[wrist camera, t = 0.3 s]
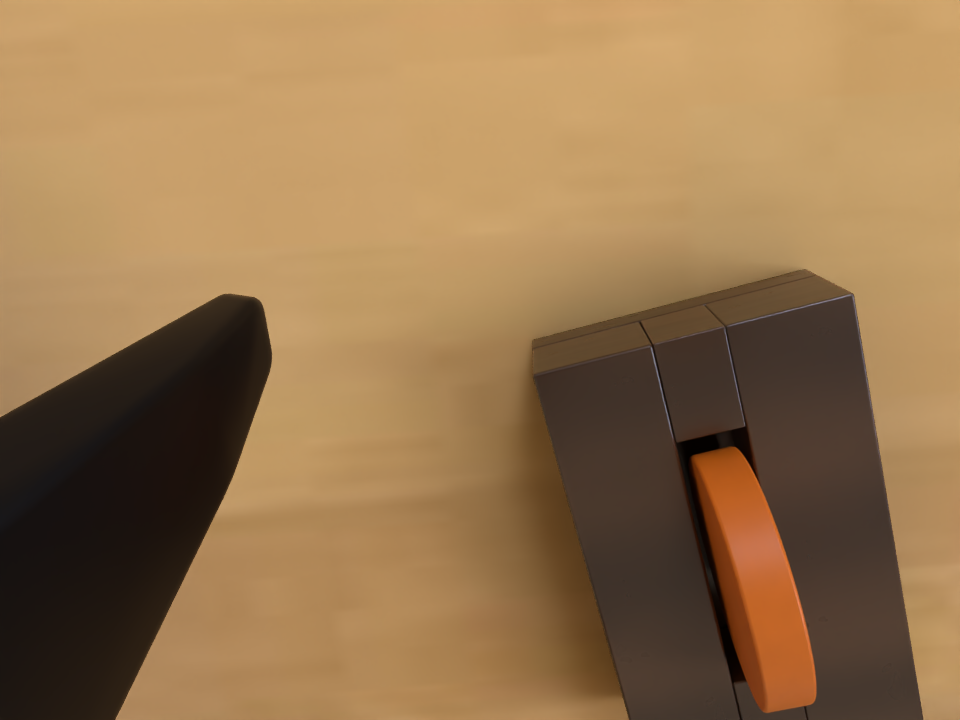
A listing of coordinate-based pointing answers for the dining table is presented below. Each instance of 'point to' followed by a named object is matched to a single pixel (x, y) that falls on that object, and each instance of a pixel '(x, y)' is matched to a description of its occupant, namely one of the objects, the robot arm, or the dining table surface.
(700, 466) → the token
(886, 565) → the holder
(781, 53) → the dining table surface
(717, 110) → the dining table surface
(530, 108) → the dining table surface
